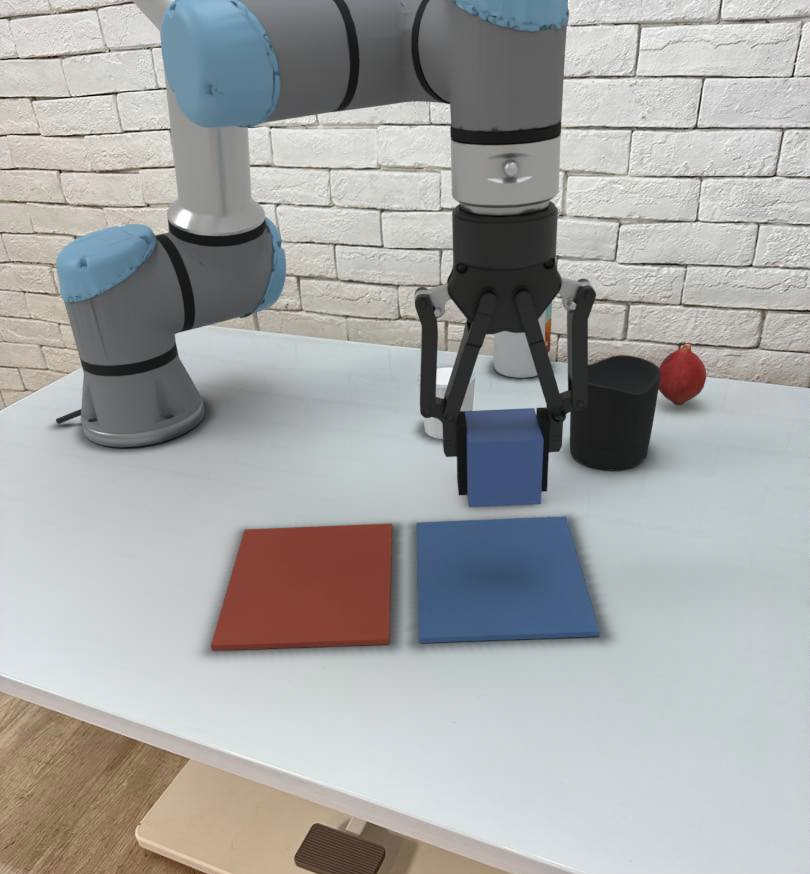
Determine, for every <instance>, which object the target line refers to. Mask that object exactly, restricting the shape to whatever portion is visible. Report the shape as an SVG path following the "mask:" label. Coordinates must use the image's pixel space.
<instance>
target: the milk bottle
mask: <svg viewBox="0 0 810 874" xmlns="http://www.w3.org/2000/svg"><path fill="white" fill-rule="evenodd" d="M552 312H553V301H552V302H551V303H550V305H549V306H548V307H547V309H546V310H545V311H544V313H543V314H542V315H541V317H540V318H539V319H538V321H539V324H540V328H541V331H542V334H543V338H544V342H545V345H546V349H547V352H548V356H549V359H550V358H551V338H552V335H551V333H552V314H553V313H552ZM550 360H551V359H550ZM493 367H494V369H495V371H496V372H497V373H498V374H501V375H502V376H506V377H510V378H521V379H522V378H532V377H536V376H537V377H538V375H537V372H536V369H535V365H534V362H533V359H532V355H531V352H530V349H529V346H528V342H527V339H526V336H525V333H512V332H507V331H503V332H499V333H496V334H493Z"/></svg>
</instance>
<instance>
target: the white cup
mask: <svg viewBox="0 0 810 874" xmlns="http://www.w3.org/2000/svg"><path fill="white" fill-rule="evenodd" d="M453 366H454V364H450V365H448V364H447V365H446V364H445V365H437V375H436V397H438V398H442V399H444V395H445V392H446V389H447V386H448V382H449V379H450V376H451V373H452V369H453ZM417 382H418V383H417V384H418V389H419V391H420V373H419V374H418V375H417ZM475 385H476V374H475V372H474V371H473V372H472V376H471V379H470V382H469V385H468V388H467V391H466V394H465V397H464V400H463V404H462V407H461V410H460V411H473V408H474V397H475ZM422 418H423V426H424V432H425V433H426V434H427V435H428V436H429V437H431V438H434V439H438V440H439V439H440V440H443V426H442V422H441V421H440V420H439V419H437V418H433V417H431V418H424V417H423V416H422Z"/></svg>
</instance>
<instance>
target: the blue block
mask: <svg viewBox="0 0 810 874" xmlns="http://www.w3.org/2000/svg"><path fill="white" fill-rule="evenodd" d="M465 416H466V423H467V434H466V435H467V495H466V496H467V506H468V508H481V507H504V506H505V507H506V506H530V505H541V504H542V492H541V490H542V465H543V440H544V439H543V436H542V433H541V430H540V426H539V423H538V420H537V416H536V408H535V407H526V408H525V407H524V408H504V409H503V408H501V409H483V410H472V411H465Z"/></svg>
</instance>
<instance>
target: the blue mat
mask: <svg viewBox="0 0 810 874" xmlns="http://www.w3.org/2000/svg"><path fill="white" fill-rule="evenodd" d="M575 546H576V545H575V543H574V540H573V536H572V532H571V528H570V526H569V522H568V519H567V516H565V515H564V516H545V517H544V516H543V517H520V518H519V517H518V518H493V519H492V518H491V519H470V520H469V519H468V520H443V521H418V522H416V553H417V554H416V555H417V557H416V558H417V559H416V561H417V604H418V607H417V609H418V610H417V611H418V643H419V644H427V643H429V644H430V643H459V642H483V641H484V642H486V641H507V640H508V641H509V640H510V641H511V640H536V639H563V638H564V639H566V638H567V639H568V638H591V637H592V638H593V637H596V638H597V637H600V627H599V625H598V621H597V617H596V614H595V611H594V607H593V604H592V601H591V597H590V594H589V590H588V586H587V584H586V579H585V577H584V573H583V571H582V566H581V563H580V560H579V557H578V556H579V555H578V553H577V550H576V547H575Z"/></svg>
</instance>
